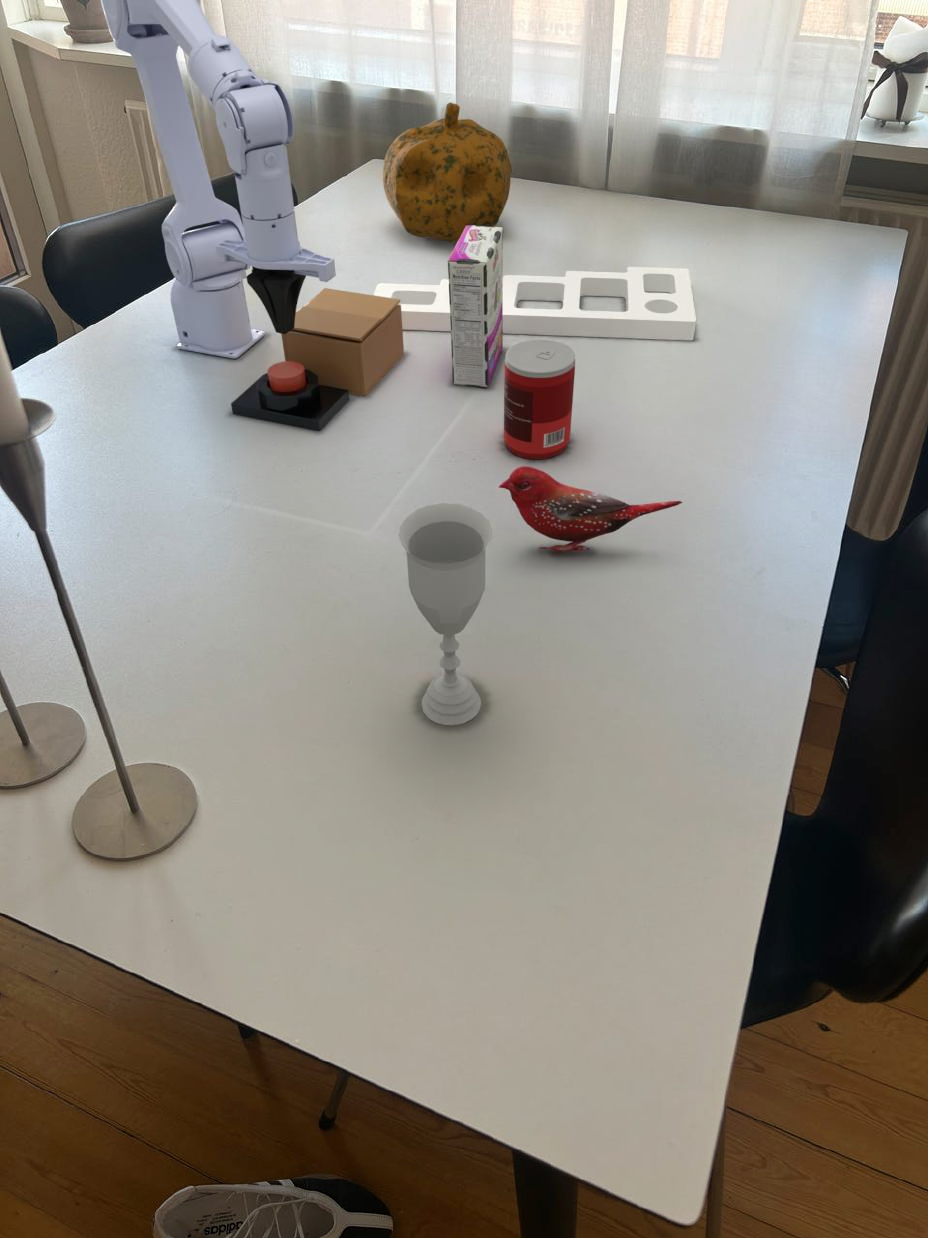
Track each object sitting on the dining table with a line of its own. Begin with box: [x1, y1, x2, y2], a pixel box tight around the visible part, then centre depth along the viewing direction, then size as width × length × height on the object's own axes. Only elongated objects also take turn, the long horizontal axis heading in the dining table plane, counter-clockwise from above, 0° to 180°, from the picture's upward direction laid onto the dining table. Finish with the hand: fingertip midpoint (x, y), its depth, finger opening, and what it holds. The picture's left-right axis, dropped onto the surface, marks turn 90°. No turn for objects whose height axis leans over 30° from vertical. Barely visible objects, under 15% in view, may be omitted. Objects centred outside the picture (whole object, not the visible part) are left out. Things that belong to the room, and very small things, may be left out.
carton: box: [280, 305, 405, 397], centre depth 124 cm, size 12×11×8 cm
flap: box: [303, 287, 400, 321], centre depth 124 cm, size 6×11×1 cm, turn 69°
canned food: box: [503, 339, 576, 460], centre depth 109 cm, size 8×8×11 cm
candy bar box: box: [447, 225, 504, 388], centre depth 121 cm, size 11×5×16 cm, turn 168°
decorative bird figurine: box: [498, 465, 683, 553], centre depth 94 cm, size 3×18×10 cm, turn 88°
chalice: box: [398, 502, 493, 726], centre depth 76 cm, size 7×7×18 cm
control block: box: [230, 369, 350, 432], centre depth 118 cm, size 12×8×4 cm, turn 69°
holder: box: [372, 266, 697, 342], centre depth 139 cm, size 45×18×3 cm, turn 83°
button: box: [267, 360, 306, 392], centre depth 117 cm, size 4×4×2 cm
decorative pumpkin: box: [382, 101, 513, 243], centre depth 156 cm, size 20×21×20 cm
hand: (285, 329), depth 113 cm, fingers closed
